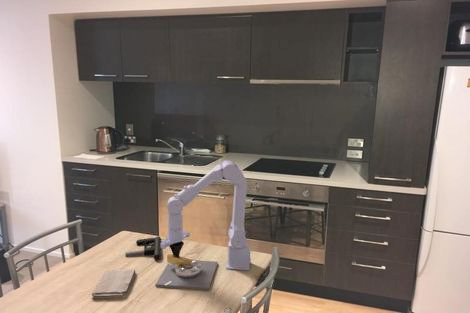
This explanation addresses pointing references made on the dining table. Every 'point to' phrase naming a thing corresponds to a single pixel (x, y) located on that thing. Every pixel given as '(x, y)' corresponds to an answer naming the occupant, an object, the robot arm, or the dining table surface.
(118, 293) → the washcloth
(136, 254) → the door handle
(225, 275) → the dining table surface
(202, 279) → the nut board
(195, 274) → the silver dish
